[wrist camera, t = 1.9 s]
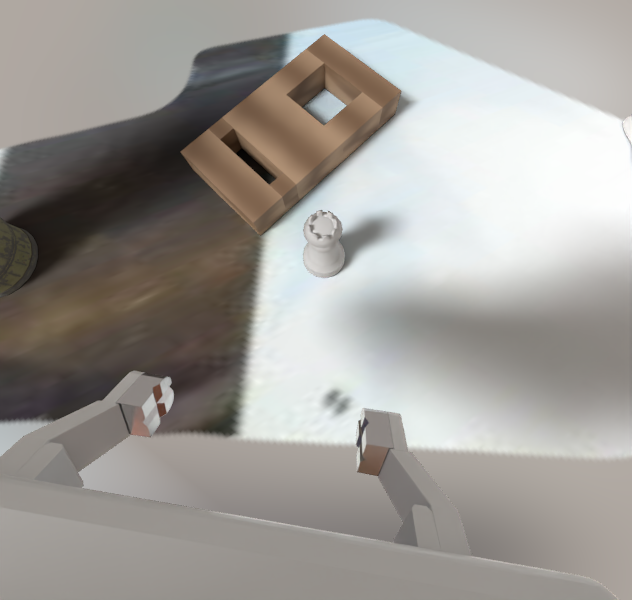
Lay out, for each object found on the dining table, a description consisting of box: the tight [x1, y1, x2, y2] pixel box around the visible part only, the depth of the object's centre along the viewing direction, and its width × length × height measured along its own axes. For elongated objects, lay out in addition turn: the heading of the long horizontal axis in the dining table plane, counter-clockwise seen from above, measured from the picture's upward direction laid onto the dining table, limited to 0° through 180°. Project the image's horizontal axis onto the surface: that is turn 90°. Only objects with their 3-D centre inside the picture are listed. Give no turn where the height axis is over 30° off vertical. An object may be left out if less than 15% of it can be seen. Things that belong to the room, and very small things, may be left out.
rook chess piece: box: [303, 210, 345, 278], centre depth 26 cm, size 4×4×8 cm
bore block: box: [181, 34, 401, 236], centre depth 32 cm, size 22×12×3 cm, turn 134°
